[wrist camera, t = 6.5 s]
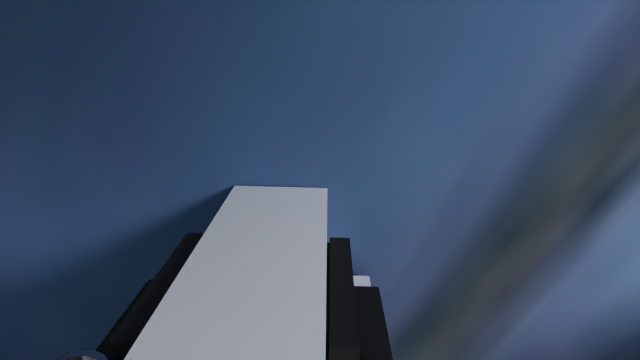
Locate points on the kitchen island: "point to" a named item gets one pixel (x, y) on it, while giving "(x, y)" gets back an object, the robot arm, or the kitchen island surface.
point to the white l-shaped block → (249, 284)
